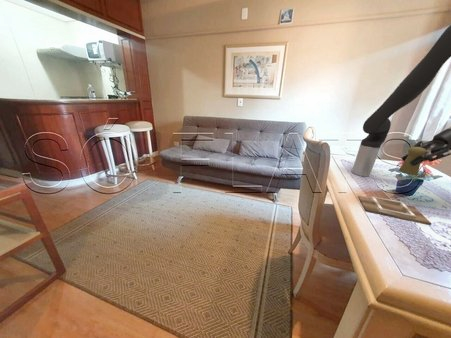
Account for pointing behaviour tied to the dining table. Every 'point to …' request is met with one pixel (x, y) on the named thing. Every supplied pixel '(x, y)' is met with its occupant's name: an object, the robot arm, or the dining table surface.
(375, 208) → the board
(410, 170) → the olive game pawn
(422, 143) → the robot arm
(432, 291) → the dining table surface
